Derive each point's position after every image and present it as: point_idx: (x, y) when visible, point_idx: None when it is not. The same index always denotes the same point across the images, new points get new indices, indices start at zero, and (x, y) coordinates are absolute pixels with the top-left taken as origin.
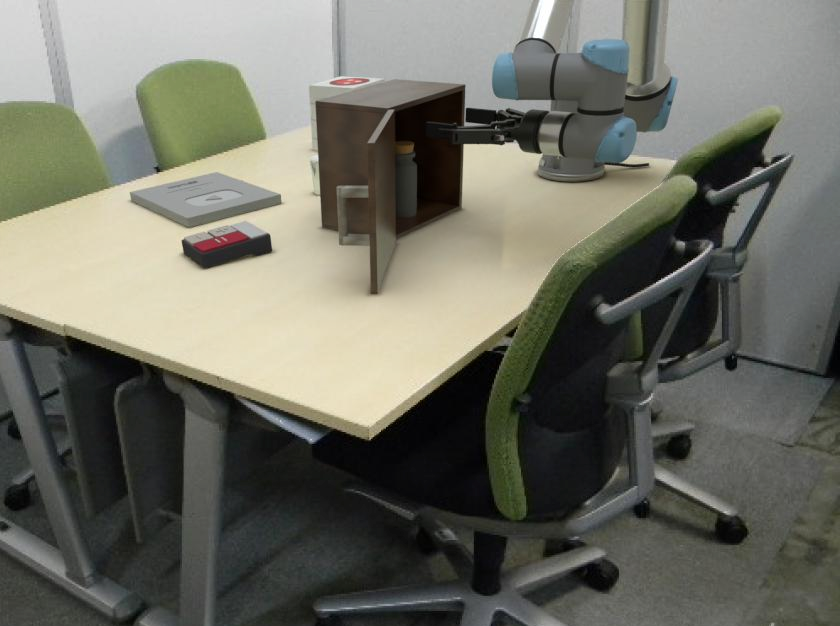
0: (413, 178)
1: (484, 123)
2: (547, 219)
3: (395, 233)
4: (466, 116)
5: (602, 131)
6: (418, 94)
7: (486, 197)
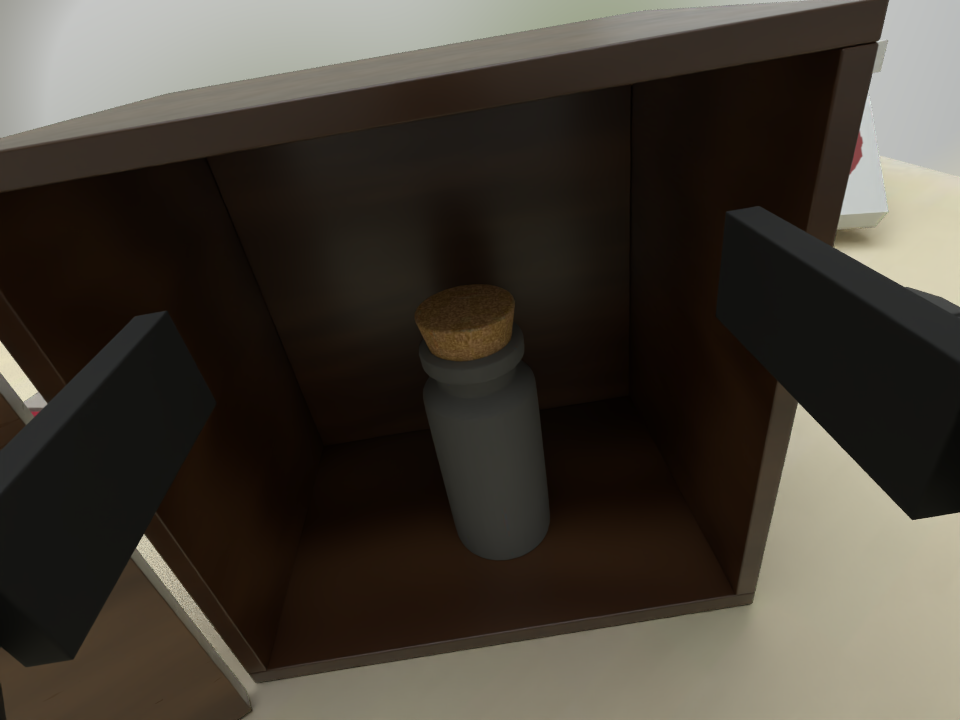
0: (484, 457)
1: (826, 423)
2: None
3: (223, 695)
4: (724, 279)
5: None
6: (396, 73)
7: (951, 567)
